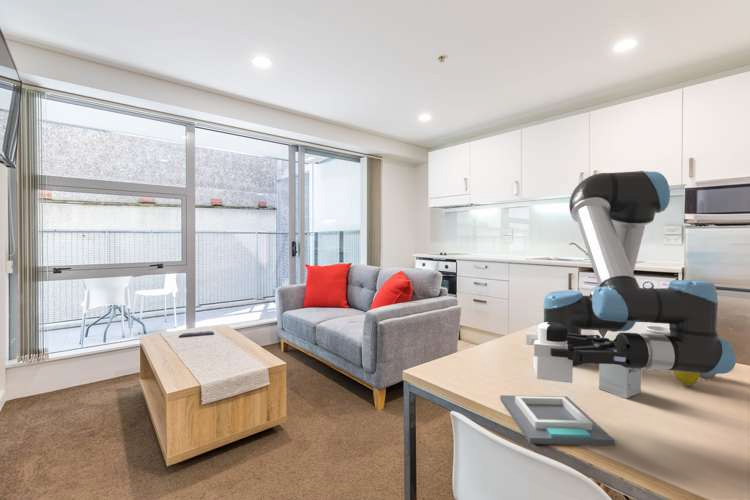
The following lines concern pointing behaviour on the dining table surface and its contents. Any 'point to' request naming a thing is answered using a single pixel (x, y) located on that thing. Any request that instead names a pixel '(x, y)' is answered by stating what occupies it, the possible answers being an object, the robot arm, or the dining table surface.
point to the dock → (554, 421)
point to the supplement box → (620, 380)
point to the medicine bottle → (547, 365)
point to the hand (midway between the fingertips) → (529, 343)
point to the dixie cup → (658, 330)
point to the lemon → (687, 377)
